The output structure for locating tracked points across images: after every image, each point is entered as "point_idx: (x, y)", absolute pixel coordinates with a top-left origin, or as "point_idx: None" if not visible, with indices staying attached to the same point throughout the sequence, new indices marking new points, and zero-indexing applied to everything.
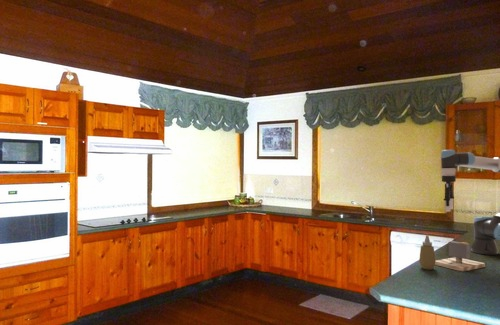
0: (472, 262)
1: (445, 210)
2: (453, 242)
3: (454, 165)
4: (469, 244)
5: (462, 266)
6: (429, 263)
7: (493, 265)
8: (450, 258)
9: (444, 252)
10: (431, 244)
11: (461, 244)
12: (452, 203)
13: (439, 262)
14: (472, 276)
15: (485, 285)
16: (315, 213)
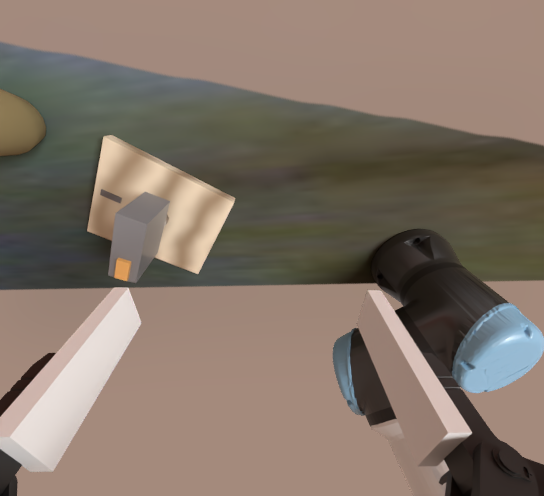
0: (183, 249)
1: (106, 296)
2: (113, 232)
3: None
4: (133, 281)
5: (103, 229)
6: None
7: (233, 282)
8: (196, 188)
9: (362, 147)
10: None
11: (111, 258)
12: (384, 380)
13: (100, 159)
14: (63, 249)
15: (5, 274)
16: None
